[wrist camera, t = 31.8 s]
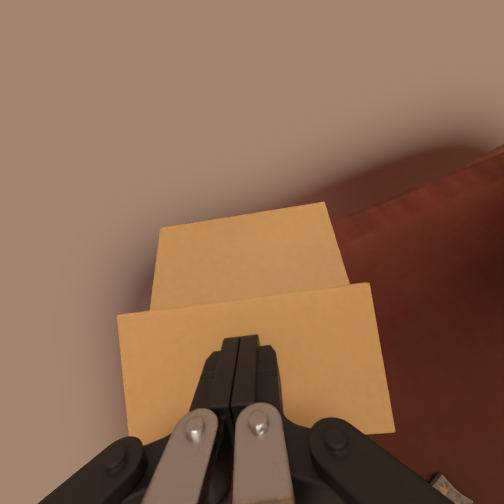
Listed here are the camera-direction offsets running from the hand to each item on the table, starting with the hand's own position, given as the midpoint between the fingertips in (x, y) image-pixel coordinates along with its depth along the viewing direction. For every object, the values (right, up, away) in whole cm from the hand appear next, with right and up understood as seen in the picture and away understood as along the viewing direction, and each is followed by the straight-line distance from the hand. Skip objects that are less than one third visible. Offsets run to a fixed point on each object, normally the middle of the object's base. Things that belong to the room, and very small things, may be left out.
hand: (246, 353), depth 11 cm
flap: (0, -1, +1) cm, 1 cm away
